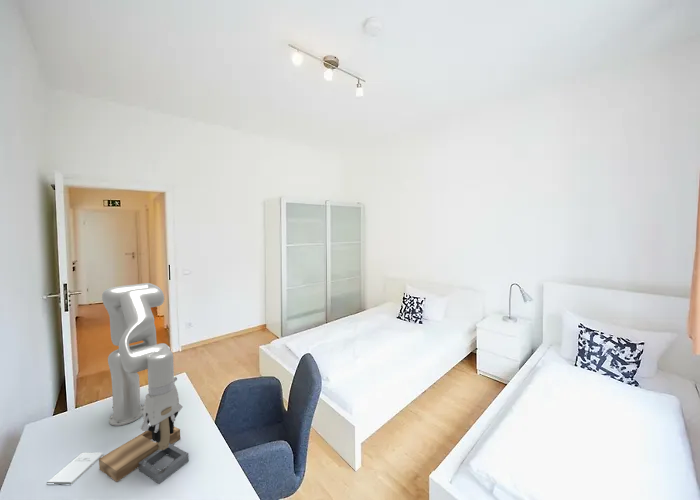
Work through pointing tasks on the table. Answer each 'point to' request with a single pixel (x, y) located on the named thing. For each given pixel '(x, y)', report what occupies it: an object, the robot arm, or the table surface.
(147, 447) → the wooden box
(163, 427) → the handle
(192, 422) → the table surface
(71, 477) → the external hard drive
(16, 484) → the table surface
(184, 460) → the collar
